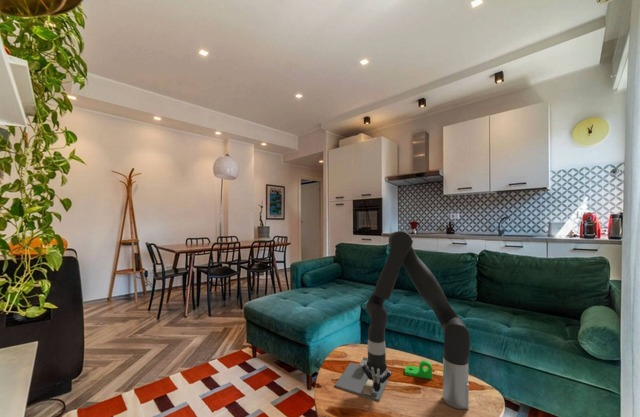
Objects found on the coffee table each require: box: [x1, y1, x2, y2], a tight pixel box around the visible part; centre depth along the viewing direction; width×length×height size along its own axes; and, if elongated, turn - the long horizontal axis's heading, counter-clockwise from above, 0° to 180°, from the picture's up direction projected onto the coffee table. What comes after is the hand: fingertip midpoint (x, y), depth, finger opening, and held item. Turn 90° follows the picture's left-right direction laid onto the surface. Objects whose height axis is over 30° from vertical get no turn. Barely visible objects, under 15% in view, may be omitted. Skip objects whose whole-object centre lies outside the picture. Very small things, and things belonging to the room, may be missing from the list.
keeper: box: [359, 356, 370, 370], centre depth 129 cm, size 4×8×4 cm, turn 153°
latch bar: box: [364, 375, 382, 396], centre depth 120 cm, size 17×4×5 cm, turn 152°
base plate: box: [334, 362, 389, 402], centre depth 123 cm, size 20×20×1 cm
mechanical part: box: [404, 359, 433, 380], centre depth 128 cm, size 12×6×8 cm, turn 71°
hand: (376, 390), depth 114 cm, fingers closed
